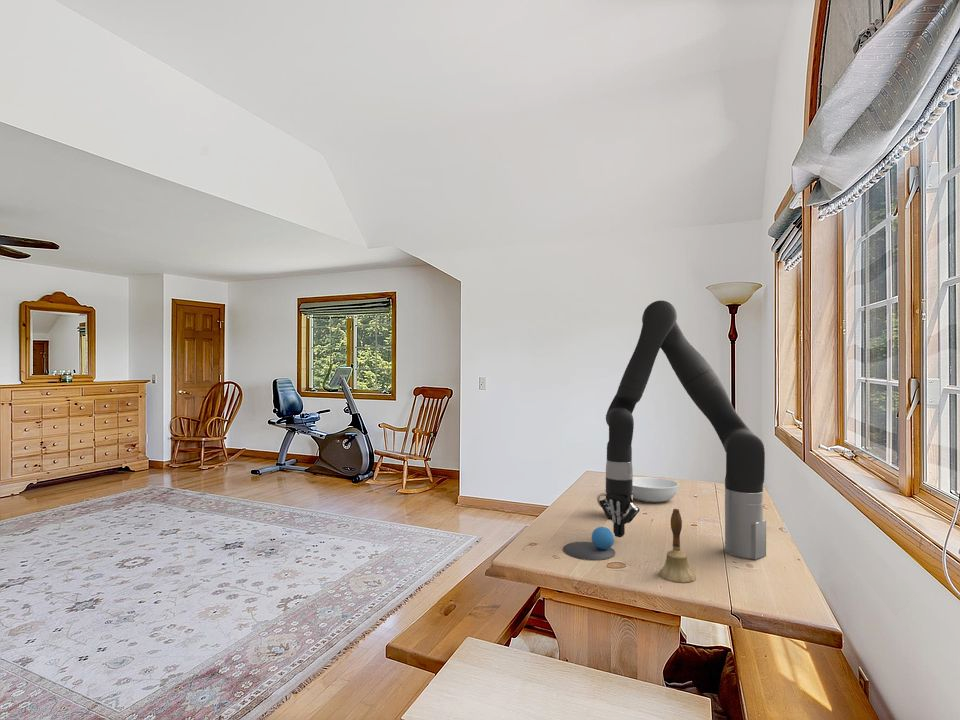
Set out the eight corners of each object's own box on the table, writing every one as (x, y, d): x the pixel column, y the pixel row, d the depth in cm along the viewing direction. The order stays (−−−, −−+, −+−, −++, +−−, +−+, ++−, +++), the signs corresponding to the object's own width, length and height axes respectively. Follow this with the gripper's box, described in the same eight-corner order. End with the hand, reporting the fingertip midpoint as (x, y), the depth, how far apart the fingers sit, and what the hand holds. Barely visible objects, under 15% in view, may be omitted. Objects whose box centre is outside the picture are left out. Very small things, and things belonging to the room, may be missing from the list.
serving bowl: (675, 495, 205) (675, 478, 205) (681, 509, 185) (681, 489, 185) (621, 491, 211) (621, 474, 211) (621, 504, 191) (621, 485, 191)
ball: (609, 534, 138) (607, 555, 138) (617, 527, 143) (616, 548, 143) (588, 528, 141) (587, 549, 142) (597, 521, 146) (596, 541, 147)
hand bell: (654, 577, 123) (654, 510, 123) (663, 566, 130) (663, 503, 130) (691, 586, 118) (691, 516, 119) (698, 574, 125) (698, 508, 126)
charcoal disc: (626, 552, 139) (626, 552, 139) (591, 564, 131) (591, 563, 131) (586, 539, 151) (586, 538, 151) (552, 548, 142) (552, 548, 142)
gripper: (646, 478, 146) (646, 540, 146) (609, 471, 157) (608, 528, 156) (630, 481, 141) (630, 545, 141) (592, 473, 152) (592, 532, 152)
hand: (618, 536), depth 149 cm, fingers closed
